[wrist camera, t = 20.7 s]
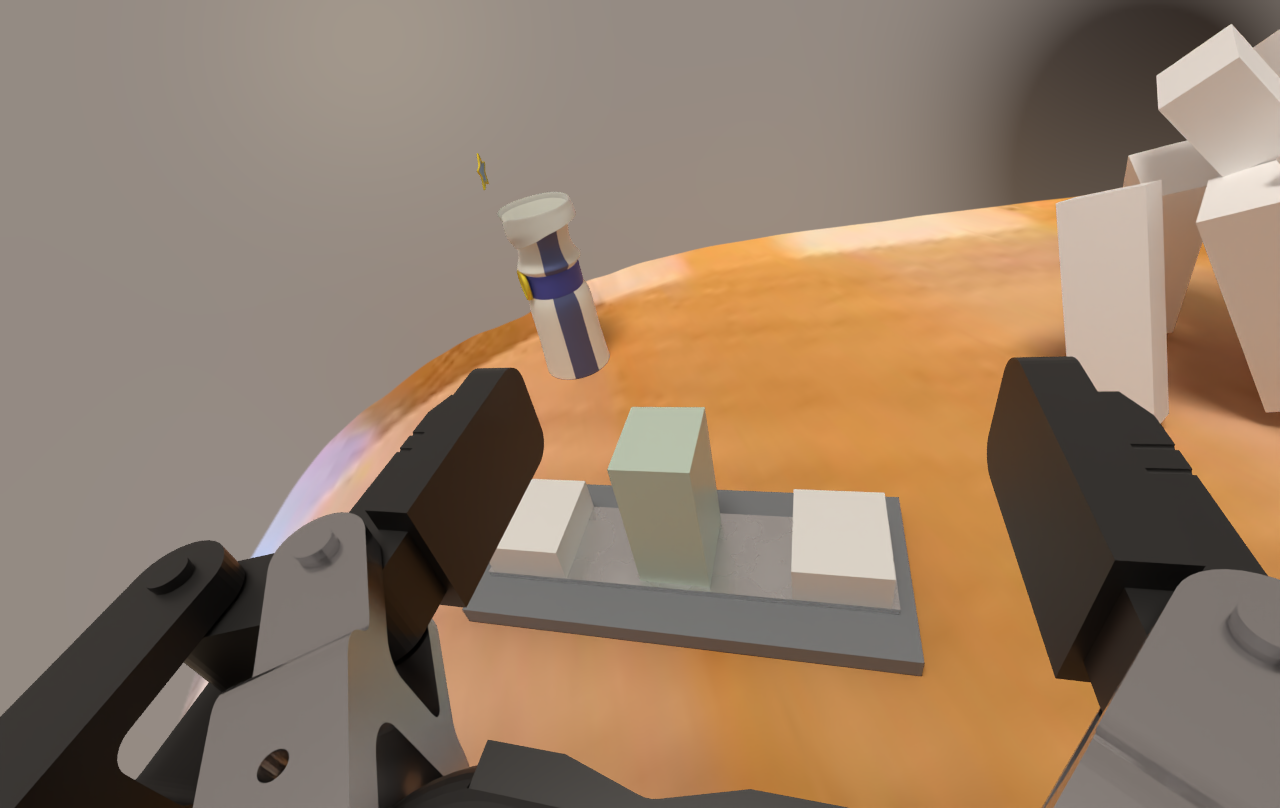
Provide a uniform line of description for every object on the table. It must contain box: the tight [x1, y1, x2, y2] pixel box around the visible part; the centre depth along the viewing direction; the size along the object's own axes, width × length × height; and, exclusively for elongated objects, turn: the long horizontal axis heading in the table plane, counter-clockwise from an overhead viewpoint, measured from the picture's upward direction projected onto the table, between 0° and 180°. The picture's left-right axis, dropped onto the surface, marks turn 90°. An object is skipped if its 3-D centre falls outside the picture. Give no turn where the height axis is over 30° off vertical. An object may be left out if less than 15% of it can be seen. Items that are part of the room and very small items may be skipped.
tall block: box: [607, 407, 721, 587], centre depth 39 cm, size 5×6×11 cm
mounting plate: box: [489, 507, 901, 615], centre depth 43 cm, size 29×7×1 cm, turn 77°
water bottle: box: [477, 153, 610, 380], centre depth 62 cm, size 8×9×25 cm
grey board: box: [462, 485, 924, 676], centre depth 43 cm, size 31×13×2 cm, turn 77°
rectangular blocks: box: [489, 479, 896, 609], centre depth 42 cm, size 28×7×3 cm, turn 77°
